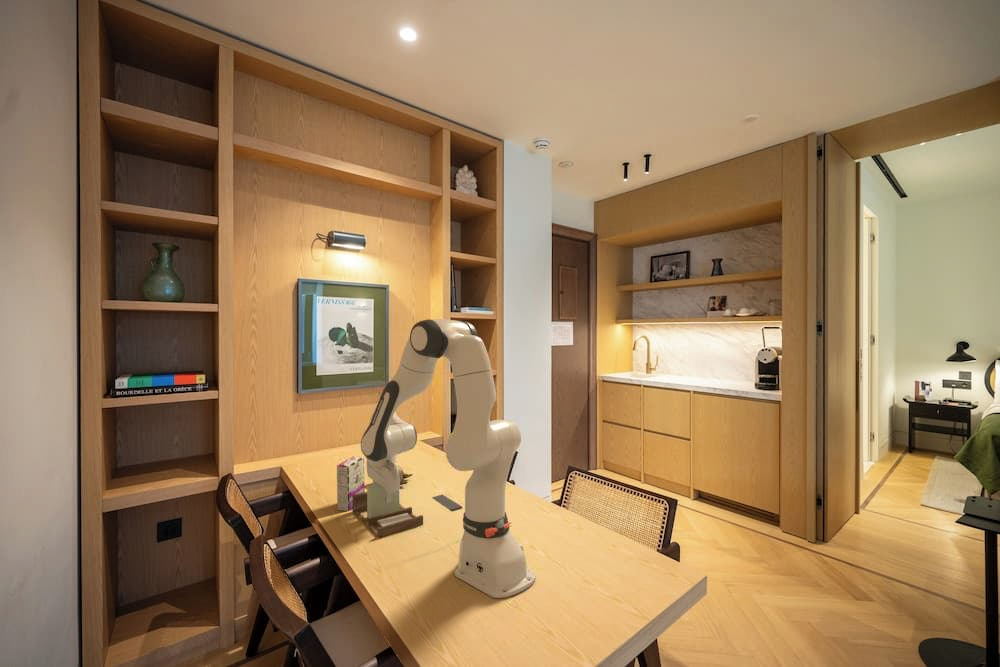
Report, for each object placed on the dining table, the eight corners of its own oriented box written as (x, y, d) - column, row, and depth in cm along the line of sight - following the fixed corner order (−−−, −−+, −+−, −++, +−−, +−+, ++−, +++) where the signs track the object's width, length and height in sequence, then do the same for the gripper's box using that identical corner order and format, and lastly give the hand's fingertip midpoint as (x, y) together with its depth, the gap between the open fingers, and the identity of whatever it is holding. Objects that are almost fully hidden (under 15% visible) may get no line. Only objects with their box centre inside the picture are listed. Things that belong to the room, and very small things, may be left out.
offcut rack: (423, 528, 139) (423, 506, 139) (378, 542, 130) (378, 519, 130) (393, 504, 158) (393, 485, 158) (352, 515, 149) (352, 495, 149)
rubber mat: (462, 508, 155) (462, 506, 155) (422, 520, 145) (422, 518, 145) (442, 496, 166) (442, 494, 166) (404, 506, 156) (404, 504, 156)
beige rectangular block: (399, 516, 148) (399, 482, 148) (371, 524, 142) (371, 488, 142) (395, 513, 151) (395, 479, 150) (367, 521, 144) (367, 485, 144)
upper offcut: (413, 525, 138) (413, 519, 138) (383, 533, 133) (383, 527, 133) (407, 518, 143) (407, 512, 143) (377, 526, 138) (377, 520, 138)
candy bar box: (353, 498, 163) (352, 455, 163) (365, 499, 162) (365, 456, 162) (336, 510, 152) (336, 464, 152) (348, 512, 151) (348, 465, 151)
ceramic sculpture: (379, 458, 185) (413, 460, 185) (377, 478, 185) (412, 480, 185) (371, 466, 174) (408, 469, 174) (370, 487, 174) (406, 490, 174)
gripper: (405, 463, 140) (404, 505, 140) (380, 448, 156) (380, 486, 156) (386, 467, 136) (386, 510, 136) (363, 451, 152) (363, 490, 152)
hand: (382, 497), depth 146 cm, fingers open, 8 cm apart
